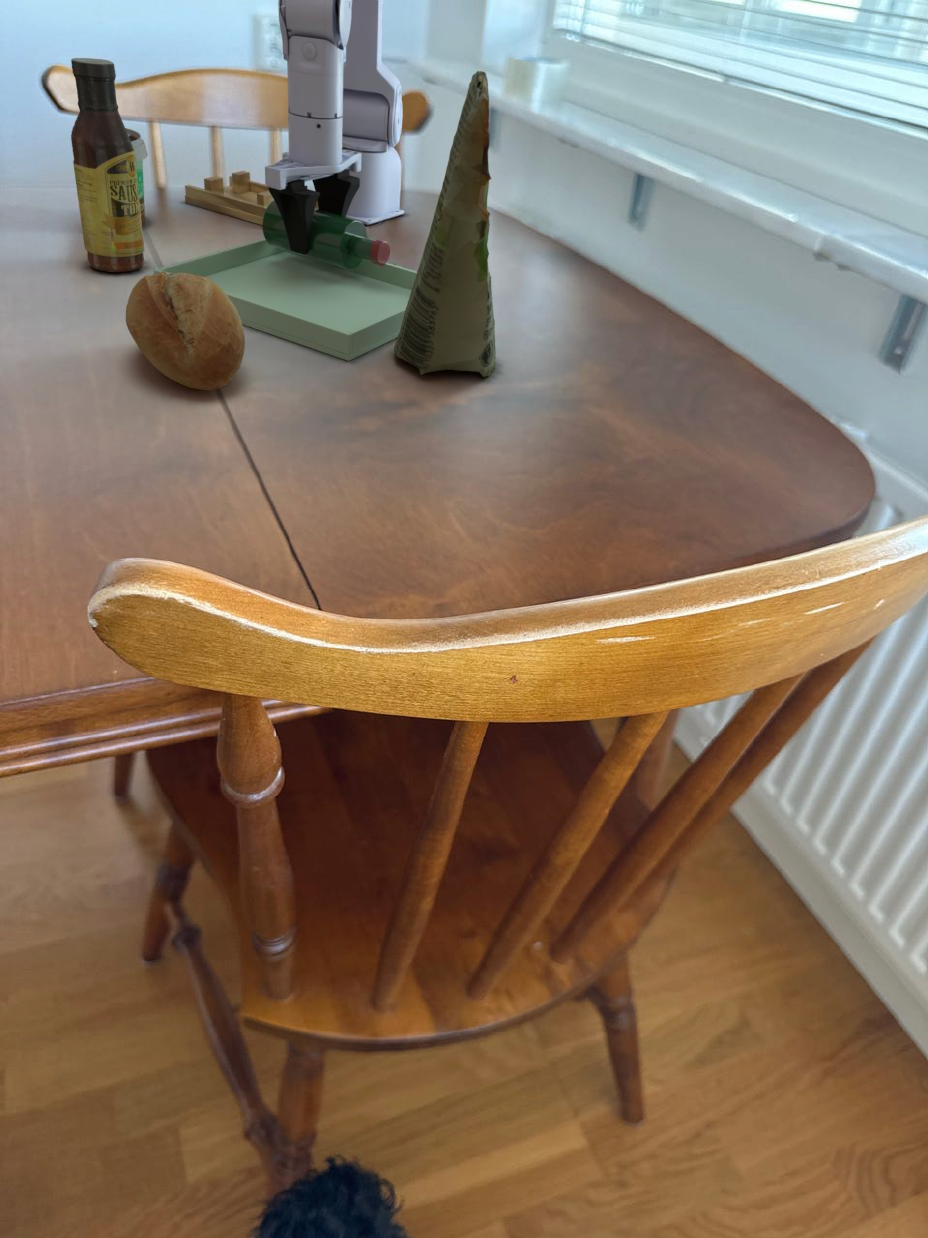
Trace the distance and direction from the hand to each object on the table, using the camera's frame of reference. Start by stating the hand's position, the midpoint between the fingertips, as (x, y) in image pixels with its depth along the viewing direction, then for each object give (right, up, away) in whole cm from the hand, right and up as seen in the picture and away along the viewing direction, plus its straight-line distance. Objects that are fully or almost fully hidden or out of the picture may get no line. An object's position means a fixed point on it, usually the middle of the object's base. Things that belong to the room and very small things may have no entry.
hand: (315, 246), depth 103 cm
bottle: (+2, -2, 0) cm, 2 cm away
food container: (-25, +7, +10) cm, 28 cm away
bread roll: (-8, -20, -21) cm, 30 cm away
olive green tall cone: (+16, -18, -14) cm, 28 cm away
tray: (0, -8, -5) cm, 9 cm away
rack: (-12, +14, +21) cm, 28 cm away
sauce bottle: (-22, -3, -2) cm, 22 cm away
